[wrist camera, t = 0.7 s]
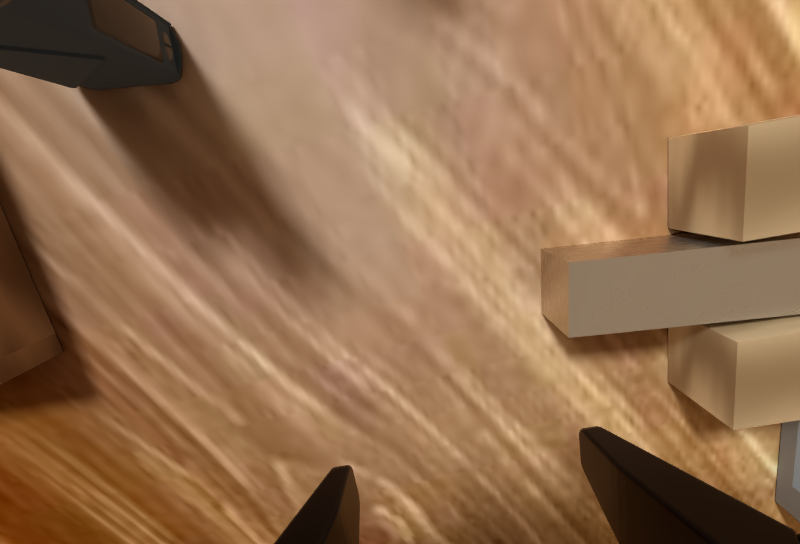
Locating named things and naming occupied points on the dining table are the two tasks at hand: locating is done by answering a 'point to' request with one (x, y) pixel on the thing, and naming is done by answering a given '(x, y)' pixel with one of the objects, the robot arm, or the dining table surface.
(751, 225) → the wooden blocks
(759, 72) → the dining table surface
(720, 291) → the bar
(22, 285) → the valet tray
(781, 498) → the v cradle
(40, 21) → the vaping device
